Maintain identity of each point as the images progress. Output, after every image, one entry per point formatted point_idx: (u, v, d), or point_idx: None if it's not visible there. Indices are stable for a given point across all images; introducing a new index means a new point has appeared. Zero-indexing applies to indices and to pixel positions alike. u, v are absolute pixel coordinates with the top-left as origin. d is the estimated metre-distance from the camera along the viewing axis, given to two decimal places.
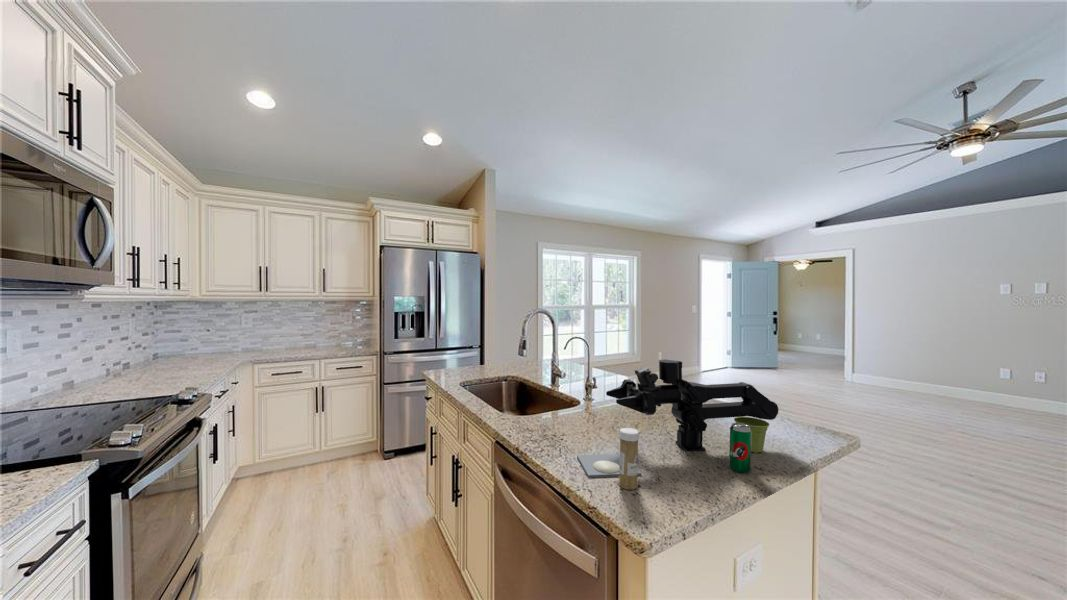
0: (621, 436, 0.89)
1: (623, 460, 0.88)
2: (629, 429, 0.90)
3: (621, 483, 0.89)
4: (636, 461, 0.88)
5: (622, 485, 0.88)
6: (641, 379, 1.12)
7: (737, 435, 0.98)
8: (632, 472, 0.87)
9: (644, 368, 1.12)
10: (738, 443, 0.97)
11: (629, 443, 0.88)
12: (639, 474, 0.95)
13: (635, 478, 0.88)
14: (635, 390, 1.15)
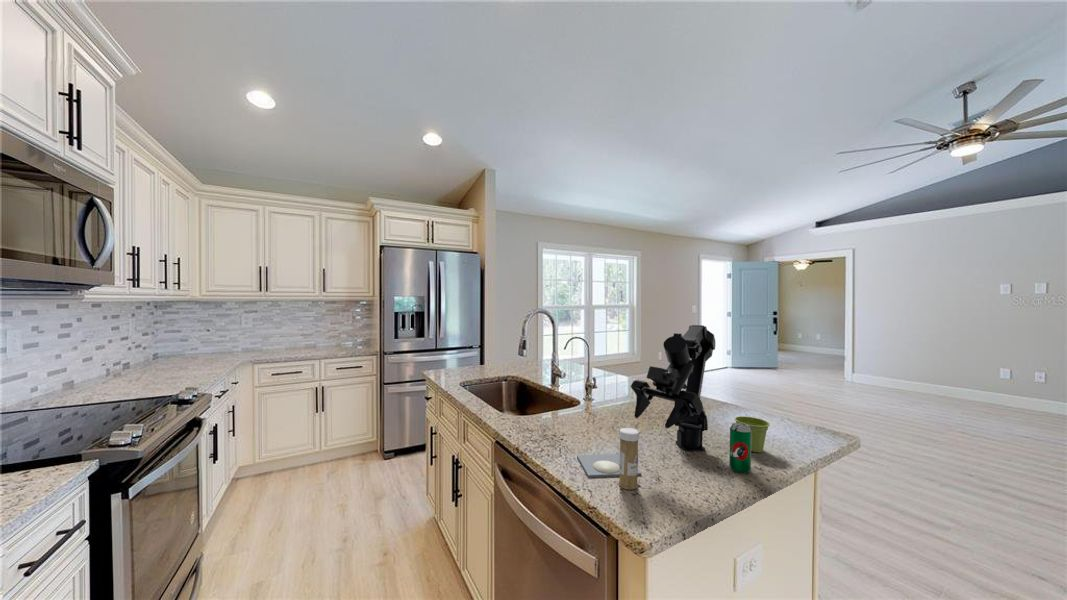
0: (621, 436, 0.89)
1: (623, 460, 0.88)
2: (629, 429, 0.90)
3: (621, 483, 0.89)
4: (636, 461, 0.88)
5: (622, 485, 0.88)
6: (660, 381, 0.96)
7: (737, 435, 0.98)
8: (632, 472, 0.87)
9: (656, 369, 0.95)
10: (738, 443, 0.97)
11: (629, 443, 0.88)
12: (639, 474, 0.95)
13: (635, 478, 0.88)
14: (656, 391, 0.99)
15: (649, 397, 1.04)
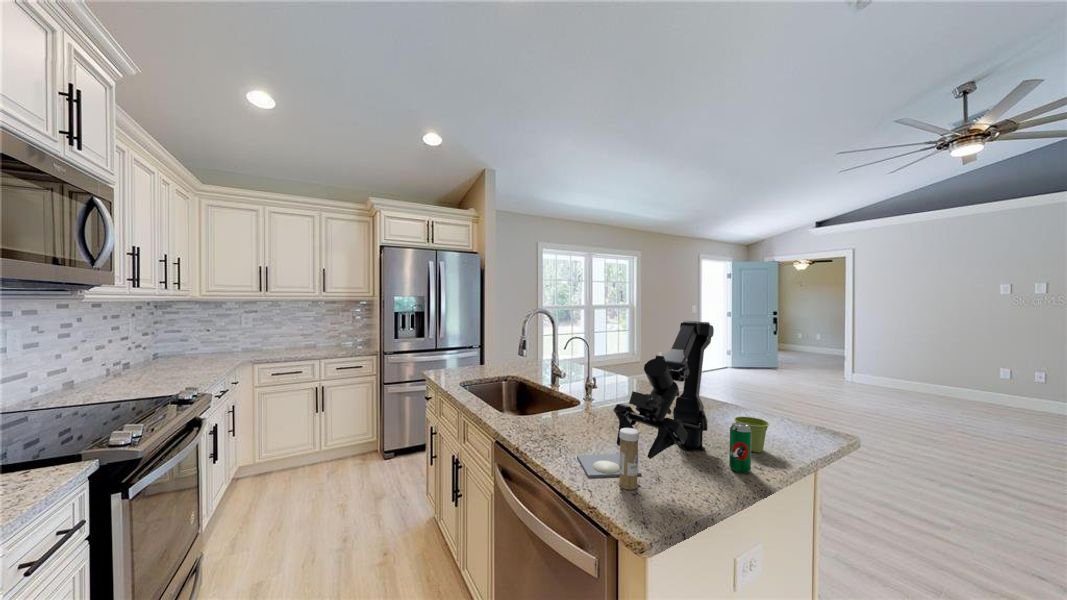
0: (621, 436, 0.89)
1: (623, 460, 0.88)
2: (629, 429, 0.90)
3: (621, 483, 0.89)
4: (636, 461, 0.88)
5: (622, 485, 0.88)
6: None
7: (737, 435, 0.98)
8: (632, 472, 0.87)
9: (639, 395, 0.91)
10: (738, 443, 0.97)
11: (629, 443, 0.88)
12: (639, 474, 0.95)
13: (635, 478, 0.88)
14: (639, 417, 0.95)
15: (633, 422, 0.99)
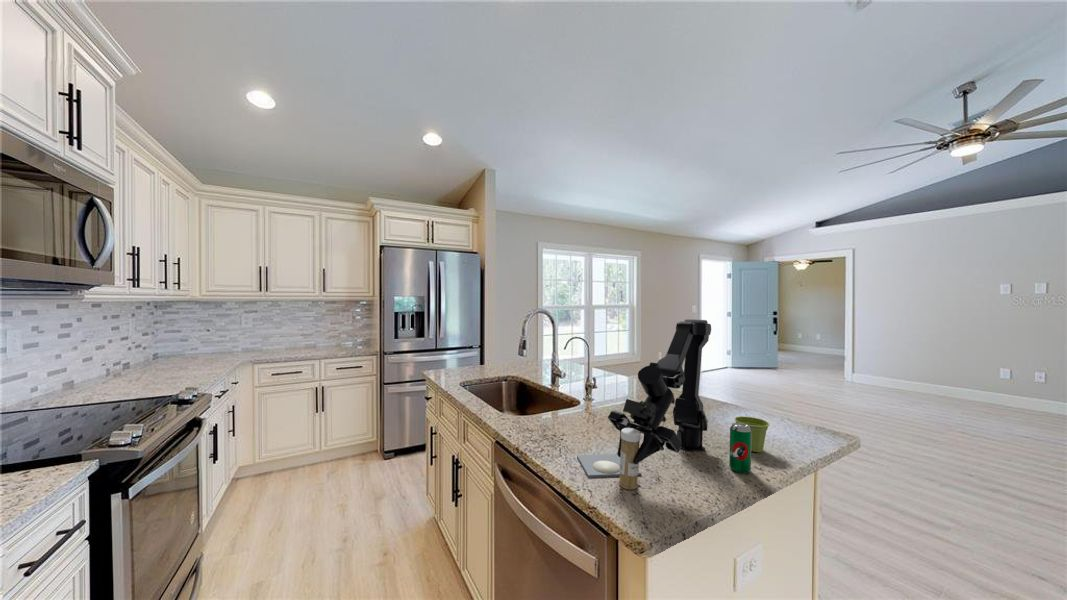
0: (622, 436, 0.88)
1: (624, 460, 0.88)
2: (631, 429, 0.90)
3: (621, 483, 0.89)
4: None
5: (622, 485, 0.88)
6: None
7: (737, 435, 0.98)
8: (633, 472, 0.87)
9: (633, 403, 0.89)
10: (738, 443, 0.97)
11: (631, 444, 0.87)
12: (639, 474, 0.95)
13: (635, 478, 0.88)
14: (633, 424, 0.94)
15: None
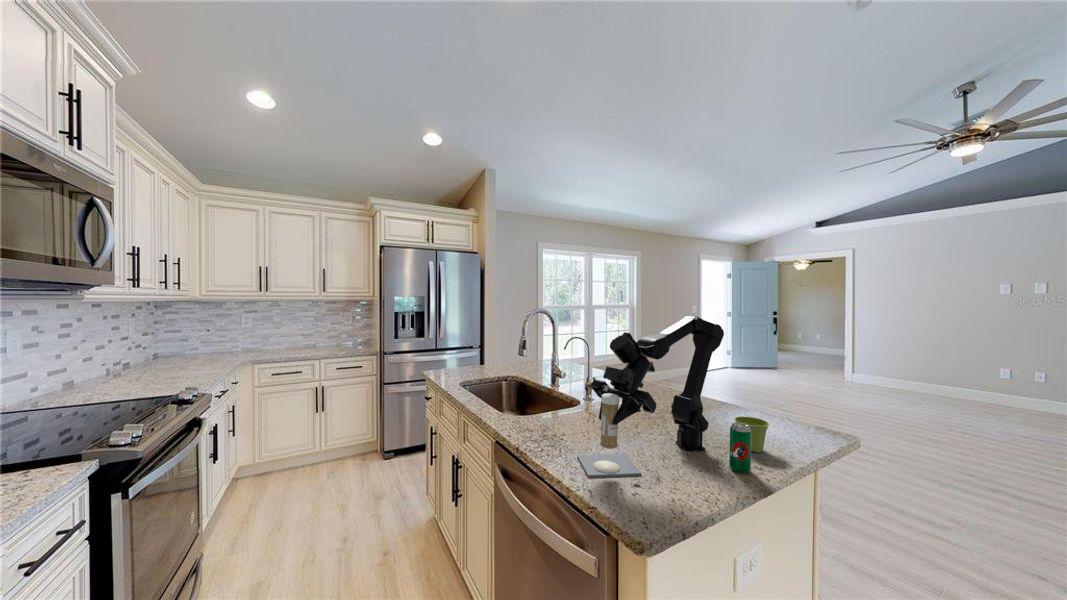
0: (603, 400, 0.96)
1: (604, 421, 0.95)
2: (610, 394, 0.98)
3: (602, 443, 0.96)
4: None
5: (603, 445, 0.96)
6: (616, 381, 0.98)
7: (737, 435, 0.98)
8: (612, 432, 0.95)
9: (612, 370, 0.97)
10: (738, 443, 0.97)
11: (610, 406, 0.95)
12: (639, 474, 0.95)
13: (615, 438, 0.96)
14: (613, 390, 1.01)
15: None
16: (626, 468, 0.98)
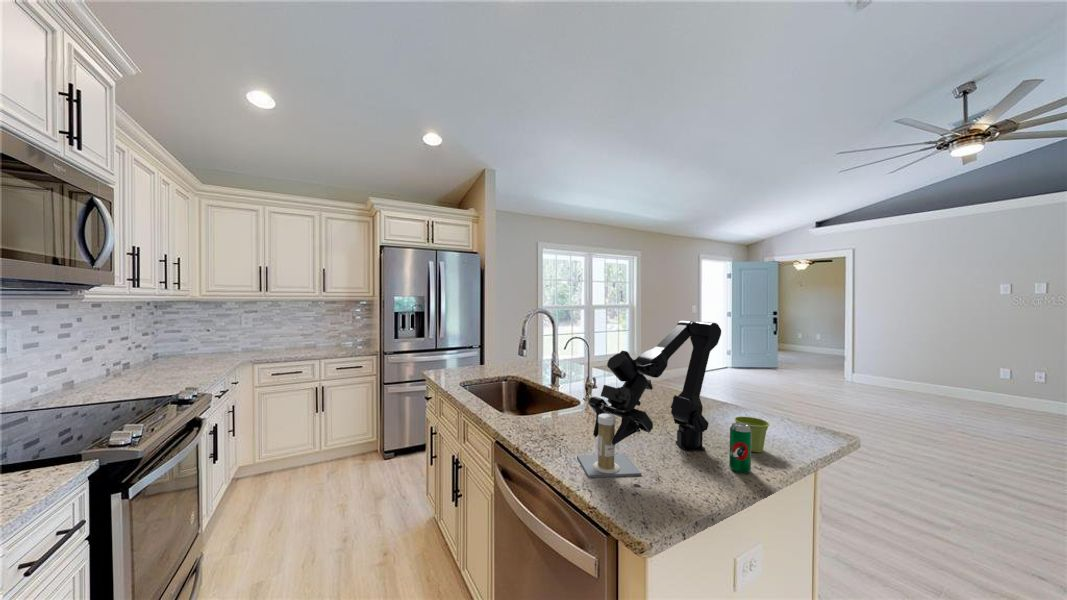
0: (599, 421, 0.97)
1: (601, 442, 0.97)
2: (607, 414, 0.99)
3: (599, 463, 0.97)
4: None
5: (600, 465, 0.97)
6: None
7: (737, 435, 0.98)
8: (609, 453, 0.96)
9: (609, 388, 0.98)
10: (738, 443, 0.97)
11: (606, 427, 0.96)
12: (639, 474, 0.95)
13: (612, 459, 0.97)
14: (611, 408, 1.02)
15: None
16: (626, 468, 0.98)
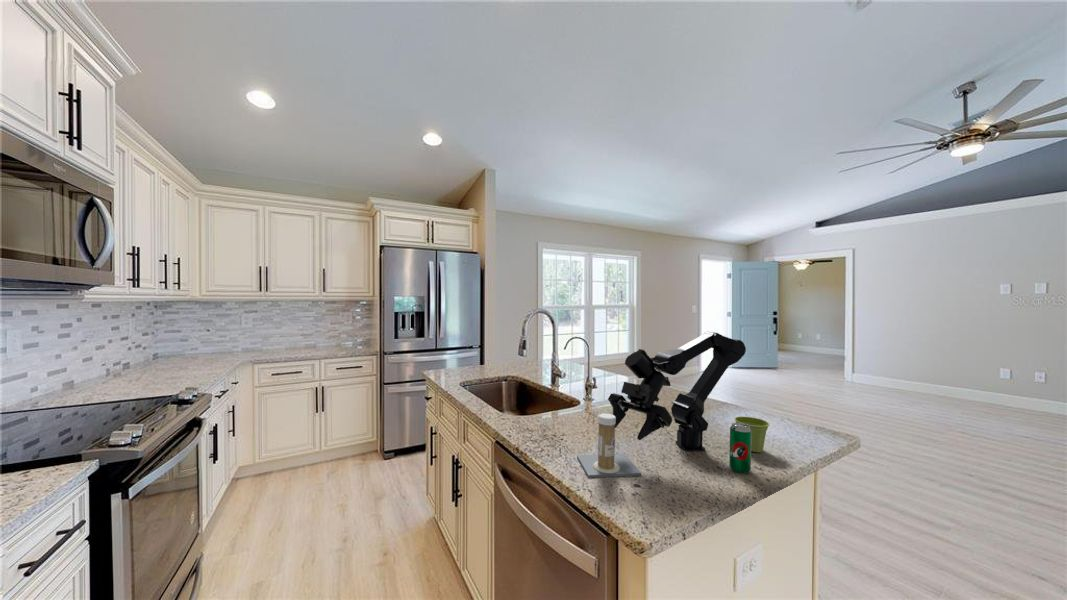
0: (599, 421, 0.97)
1: (601, 442, 0.97)
2: (607, 414, 0.99)
3: (599, 463, 0.97)
4: (613, 443, 0.97)
5: (600, 465, 0.97)
6: (633, 395, 1.04)
7: (737, 435, 0.98)
8: (609, 453, 0.96)
9: (629, 385, 1.03)
10: (738, 443, 0.97)
11: (607, 427, 0.96)
12: (639, 474, 0.95)
13: (612, 459, 0.97)
14: (630, 404, 1.07)
15: (625, 409, 1.11)
16: (626, 468, 0.98)
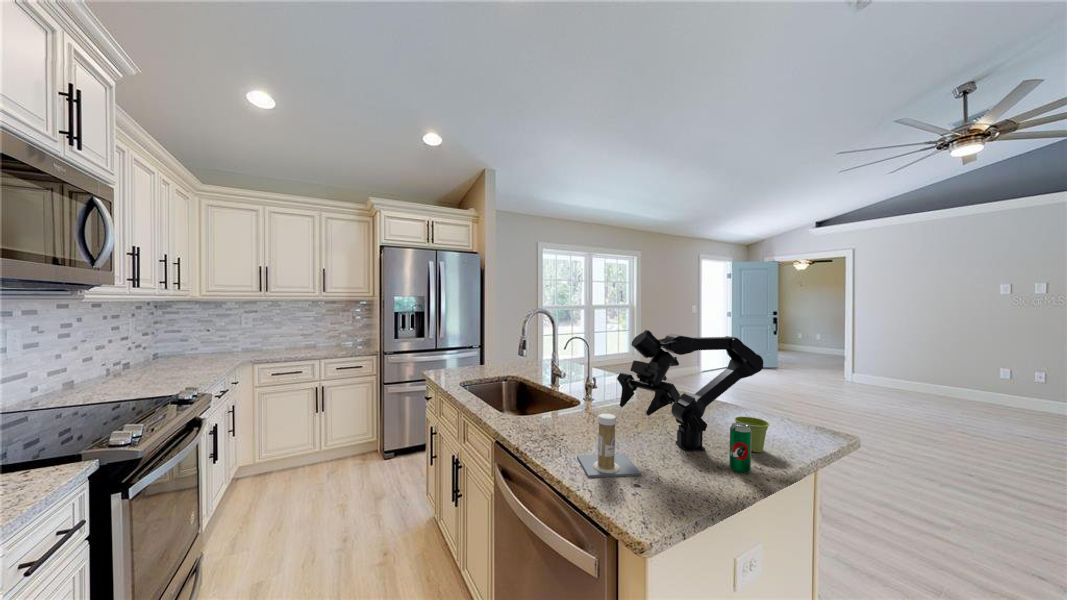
0: (599, 421, 0.97)
1: (601, 442, 0.97)
2: (607, 414, 0.99)
3: (599, 463, 0.97)
4: (613, 443, 0.97)
5: (600, 465, 0.97)
6: (642, 373, 1.07)
7: (737, 435, 0.98)
8: (609, 453, 0.96)
9: (639, 363, 1.06)
10: (738, 443, 0.97)
11: (607, 427, 0.96)
12: (639, 474, 0.95)
13: (612, 459, 0.97)
14: (639, 383, 1.10)
15: (633, 388, 1.15)
16: (626, 468, 0.98)
